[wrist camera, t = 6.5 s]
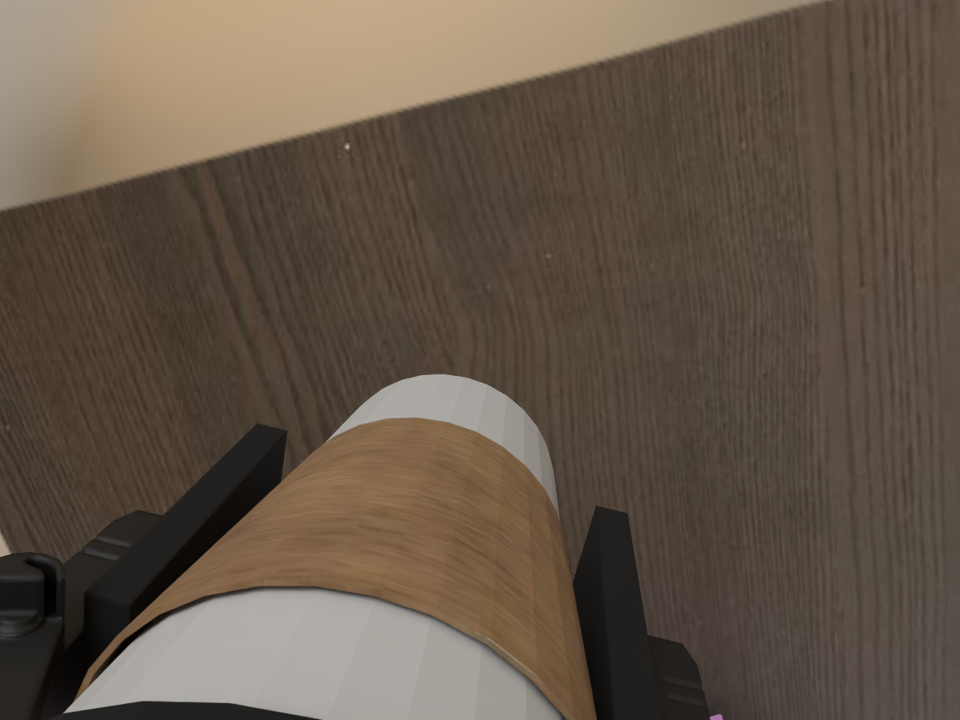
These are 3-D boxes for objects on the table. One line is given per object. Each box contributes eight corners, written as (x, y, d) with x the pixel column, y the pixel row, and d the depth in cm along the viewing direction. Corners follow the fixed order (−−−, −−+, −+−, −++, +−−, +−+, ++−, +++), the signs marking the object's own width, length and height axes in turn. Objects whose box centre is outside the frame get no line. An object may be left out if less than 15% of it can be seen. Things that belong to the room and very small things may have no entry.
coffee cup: (257, 532, 21) (-416, 1438, 6) (355, 271, 18) (-454, 853, 4) (520, 647, 21) (435, 1761, 7) (658, 408, 18) (1016, 1448, 4)
